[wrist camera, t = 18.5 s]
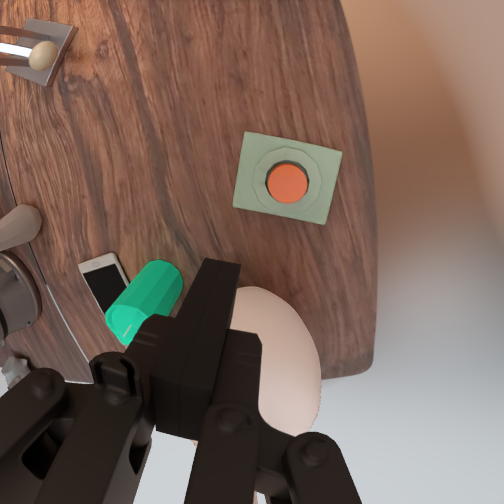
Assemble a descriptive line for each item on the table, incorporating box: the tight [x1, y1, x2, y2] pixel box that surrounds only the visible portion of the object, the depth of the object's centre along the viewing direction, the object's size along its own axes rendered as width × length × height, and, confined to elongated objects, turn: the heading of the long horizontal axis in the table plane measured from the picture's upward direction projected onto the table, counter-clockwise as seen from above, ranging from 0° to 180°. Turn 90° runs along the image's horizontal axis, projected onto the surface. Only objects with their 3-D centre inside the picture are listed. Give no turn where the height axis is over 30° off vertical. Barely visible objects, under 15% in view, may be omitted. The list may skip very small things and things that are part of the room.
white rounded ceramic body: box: [1, 356, 31, 390], centre depth 49 cm, size 9×19×10 cm
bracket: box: [0, 18, 78, 87], centre depth 19 cm, size 12×9×15 cm
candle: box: [105, 260, 183, 345], centre depth 32 cm, size 6×6×12 cm
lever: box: [0, 41, 58, 71], centre depth 17 cm, size 14×4×4 cm
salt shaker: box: [0, 204, 42, 251], centre depth 30 cm, size 6×6×13 cm
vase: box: [191, 286, 321, 504], centre depth 25 cm, size 14×14×28 cm
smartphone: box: [78, 253, 129, 345], centre depth 40 cm, size 8×1×15 cm
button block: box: [232, 131, 343, 225], centre depth 29 cm, size 10×8×4 cm
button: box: [268, 163, 307, 204], centre depth 27 cm, size 4×4×2 cm
